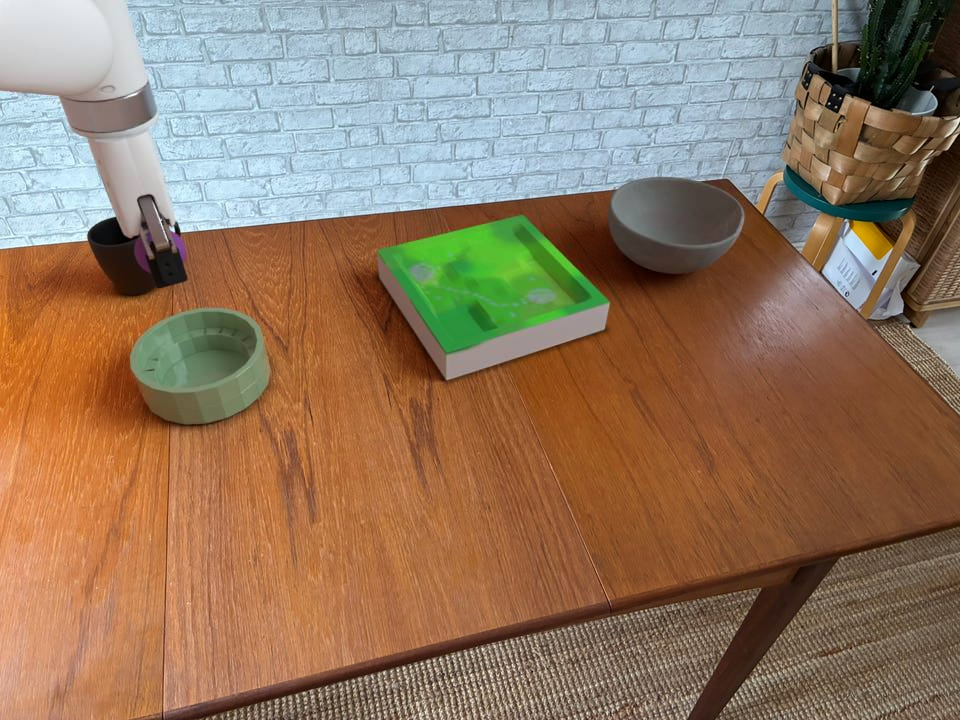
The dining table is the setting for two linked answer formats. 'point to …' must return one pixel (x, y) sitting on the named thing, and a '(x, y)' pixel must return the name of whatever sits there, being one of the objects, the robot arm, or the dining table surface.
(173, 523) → the dining table surface
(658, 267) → the bowl
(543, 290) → the tray
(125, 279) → the mug
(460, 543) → the dining table surface
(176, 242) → the ball
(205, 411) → the green bowl
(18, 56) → the robot arm
